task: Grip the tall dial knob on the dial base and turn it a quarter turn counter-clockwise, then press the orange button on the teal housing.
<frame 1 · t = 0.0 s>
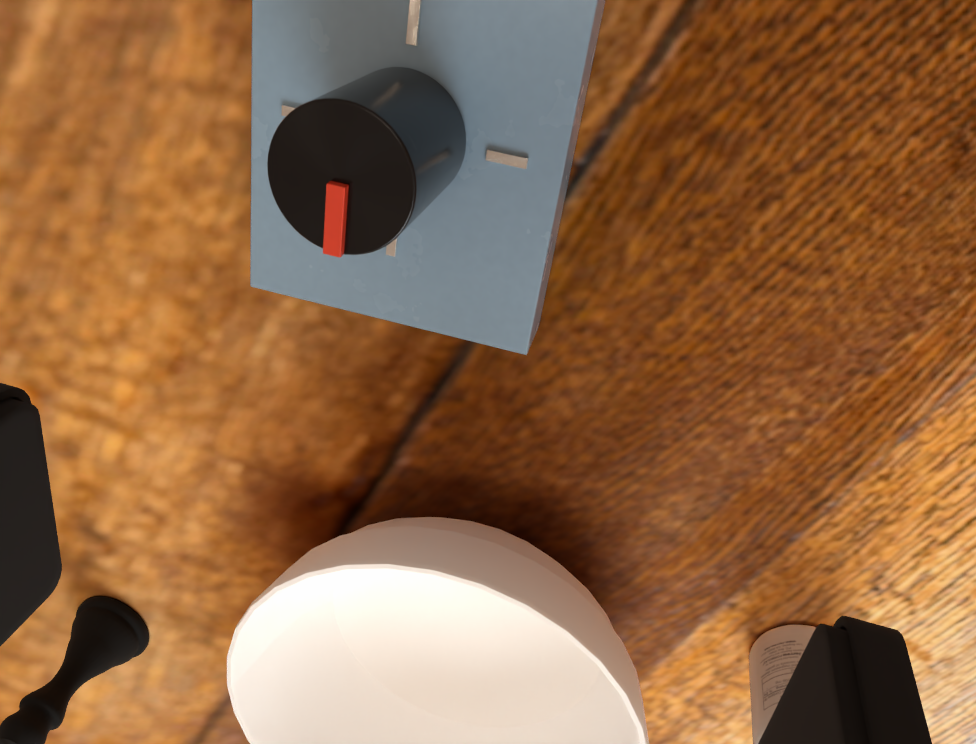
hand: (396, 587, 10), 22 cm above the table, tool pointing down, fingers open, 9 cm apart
dial base: (425, 120, 30), on the table
pill bottle: (799, 654, 38), on the table
dial knob: (372, 157, 25), point 5 cm above the table, hinge at 0.0°
bowl: (471, 608, 41), on the table
chess piece: (117, 622, 48), on the table
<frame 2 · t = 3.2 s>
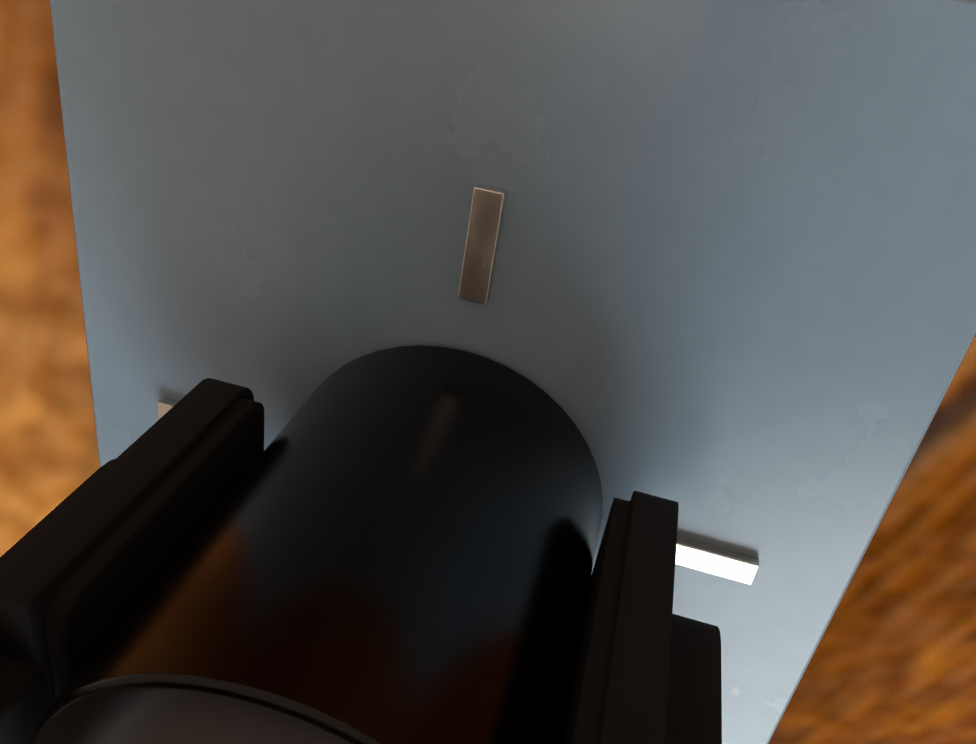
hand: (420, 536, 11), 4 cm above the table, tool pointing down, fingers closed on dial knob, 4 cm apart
dial base: (486, 395, 14), on the table
dial knob: (371, 640, 9), point 5 cm above the table, hinge at -0.1°, touching gripper
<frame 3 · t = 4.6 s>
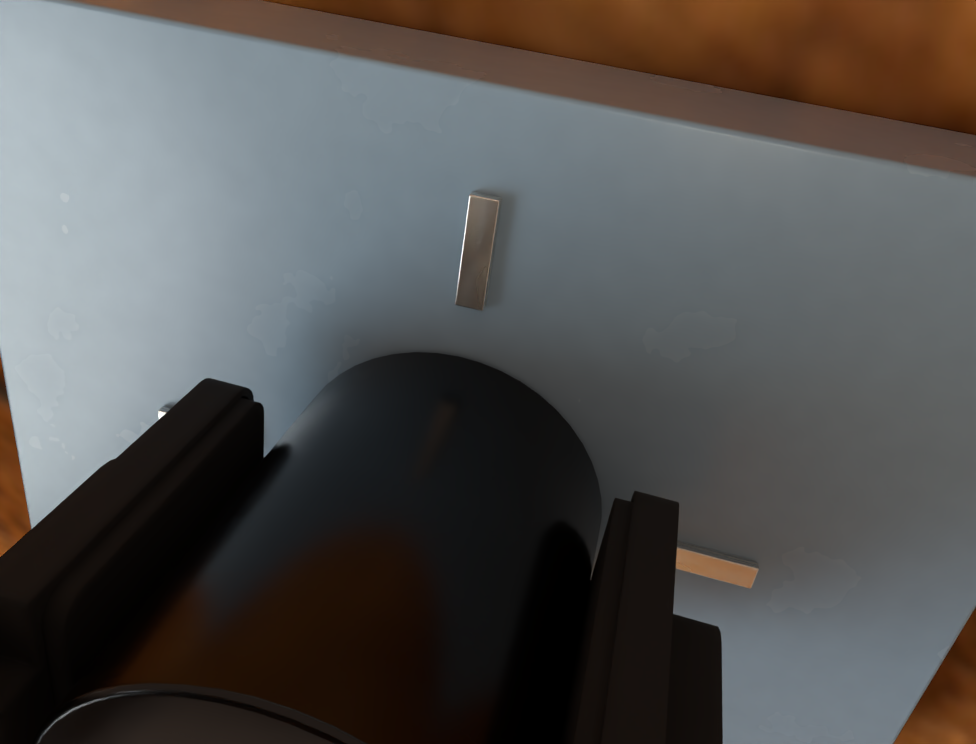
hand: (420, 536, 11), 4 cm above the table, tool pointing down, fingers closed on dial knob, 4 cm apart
dial base: (486, 400, 14), on the table
dial knob: (370, 646, 9), point 5 cm above the table, hinge at 91.5°, touching gripper
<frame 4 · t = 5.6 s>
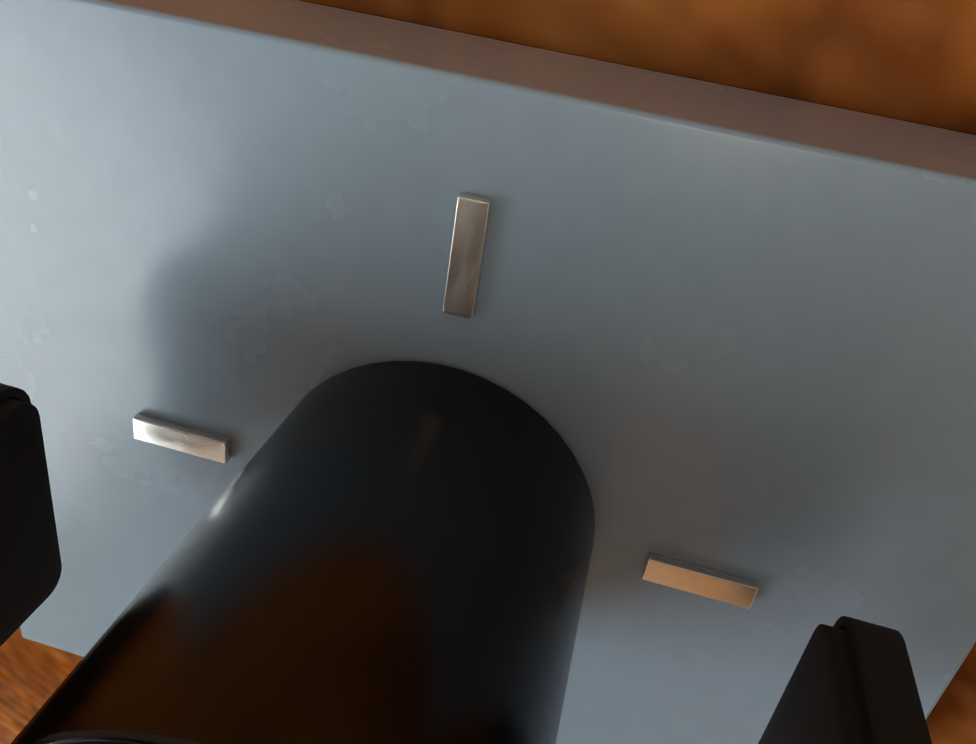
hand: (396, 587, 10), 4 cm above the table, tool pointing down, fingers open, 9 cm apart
dial base: (476, 408, 13), on the table
dial knob: (350, 673, 9), point 5 cm above the table, hinge at 93.5°
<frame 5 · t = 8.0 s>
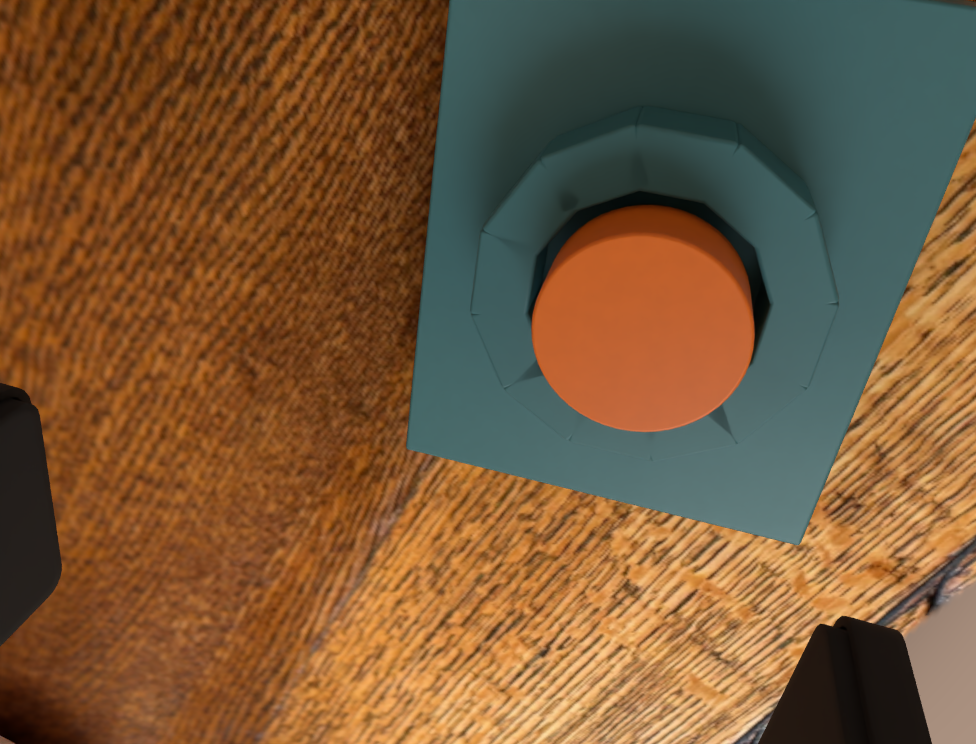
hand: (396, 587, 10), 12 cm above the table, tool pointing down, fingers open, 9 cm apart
button block: (655, 242, 20), on the table
button: (642, 319, 16), point 4 cm above the table, slide at 0.1 cm
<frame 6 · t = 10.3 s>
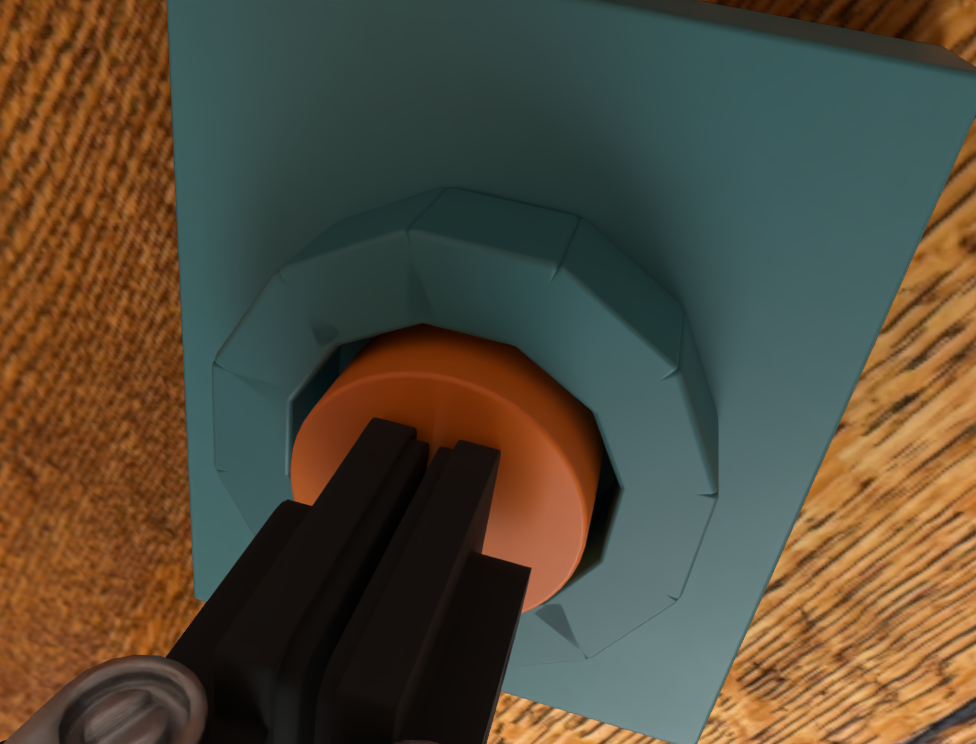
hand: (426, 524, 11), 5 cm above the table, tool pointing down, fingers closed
button block: (508, 349, 15), on the table
button: (451, 470, 12), point 4 cm above the table, slide at -0.7 cm, touching gripper
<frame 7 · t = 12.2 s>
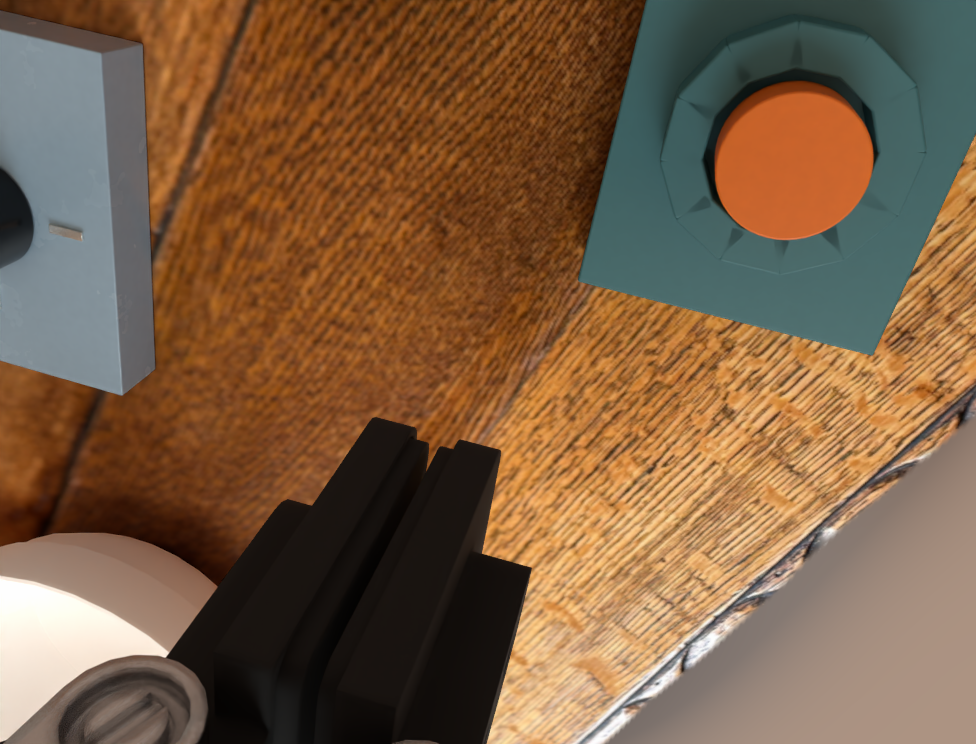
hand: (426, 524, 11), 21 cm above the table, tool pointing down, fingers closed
dial base: (29, 191, 35), on the table
bowl: (159, 613, 46), on the table
button block: (778, 126, 27), on the table
button: (789, 161, 23), point 4 cm above the table, slide at 0.1 cm
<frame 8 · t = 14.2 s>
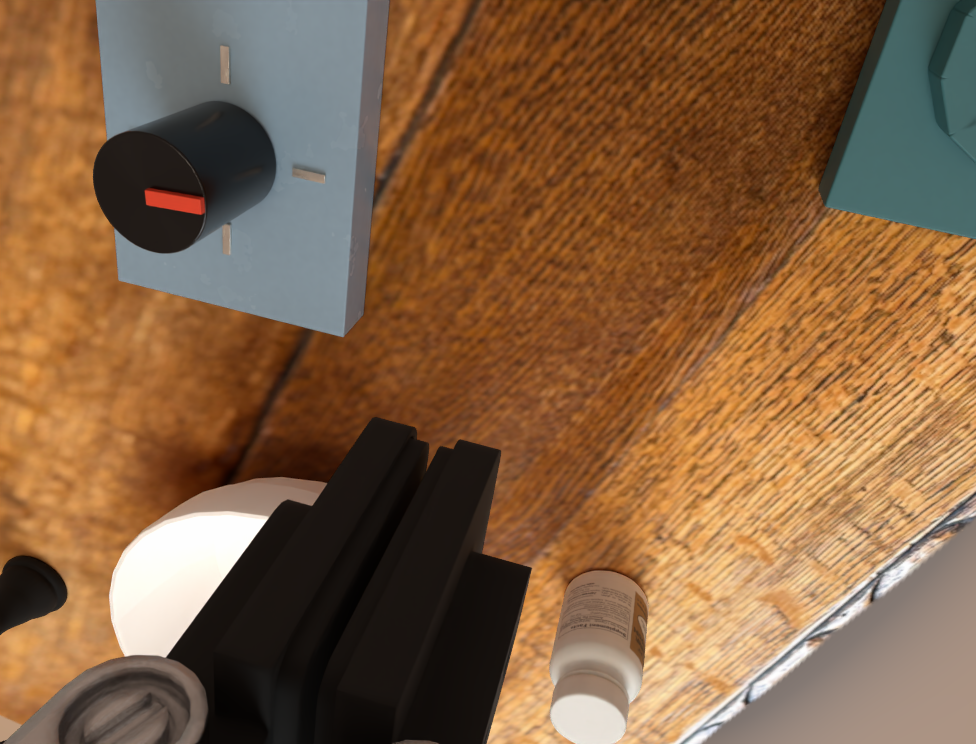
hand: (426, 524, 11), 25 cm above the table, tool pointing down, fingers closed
dial base: (256, 141, 36), on the table
pill bottle: (607, 597, 44), on the table
dial knob: (188, 175, 32), point 5 cm above the table, hinge at 93.5°
bowl: (335, 561, 47), on the table
chess piece: (39, 580, 54), on the table
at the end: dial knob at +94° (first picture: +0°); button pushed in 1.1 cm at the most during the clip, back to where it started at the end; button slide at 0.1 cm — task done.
